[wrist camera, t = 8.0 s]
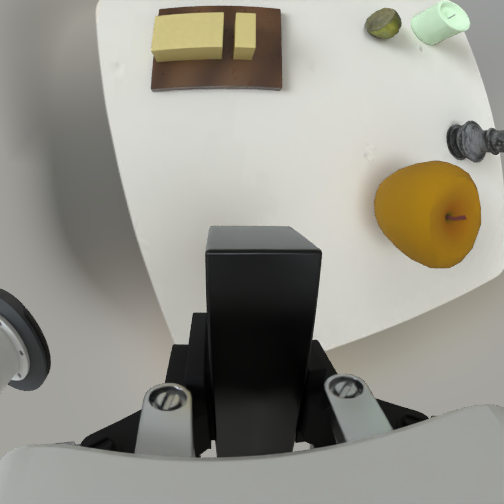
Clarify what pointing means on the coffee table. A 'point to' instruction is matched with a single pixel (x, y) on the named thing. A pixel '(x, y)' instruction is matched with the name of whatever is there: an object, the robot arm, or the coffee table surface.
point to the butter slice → (244, 36)
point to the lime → (384, 23)
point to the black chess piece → (474, 141)
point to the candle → (440, 22)
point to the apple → (430, 212)
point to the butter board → (227, 56)
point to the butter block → (188, 36)
